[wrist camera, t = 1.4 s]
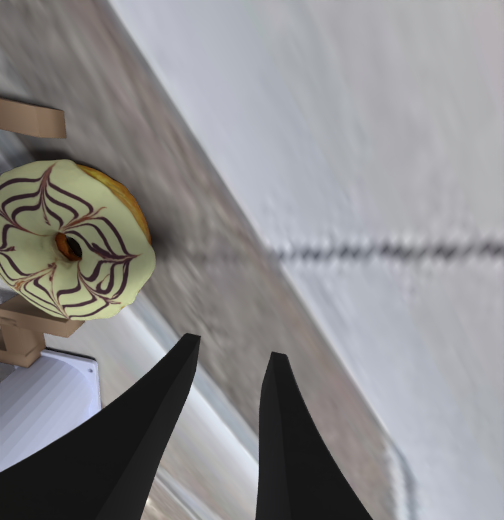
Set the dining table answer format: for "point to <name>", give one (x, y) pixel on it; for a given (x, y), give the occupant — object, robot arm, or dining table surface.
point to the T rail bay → (18, 308)
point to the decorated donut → (78, 227)
